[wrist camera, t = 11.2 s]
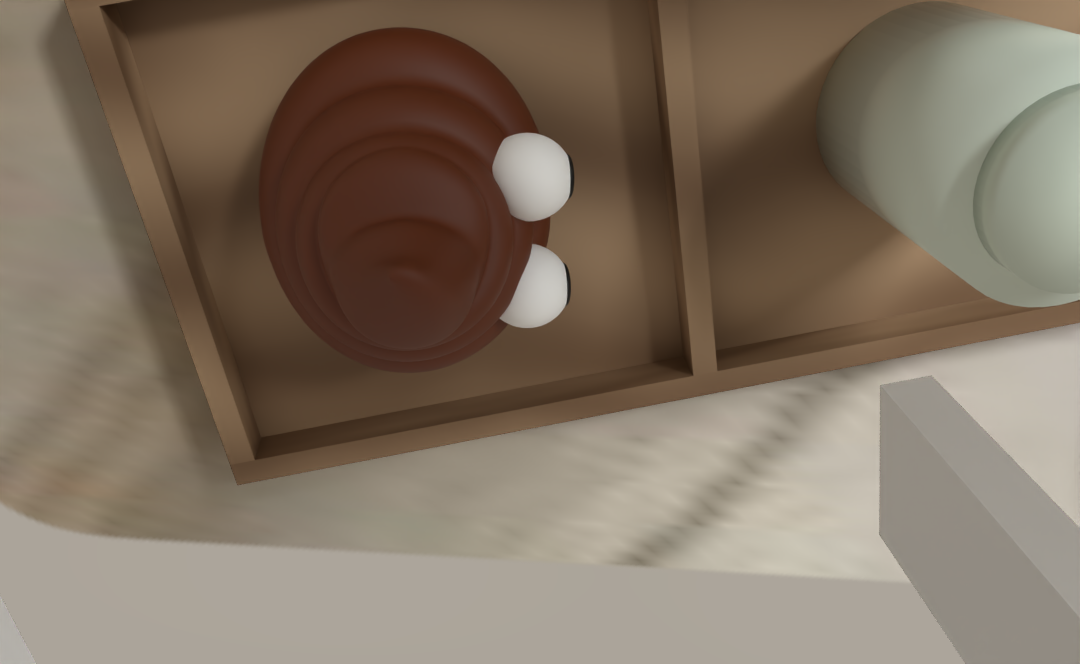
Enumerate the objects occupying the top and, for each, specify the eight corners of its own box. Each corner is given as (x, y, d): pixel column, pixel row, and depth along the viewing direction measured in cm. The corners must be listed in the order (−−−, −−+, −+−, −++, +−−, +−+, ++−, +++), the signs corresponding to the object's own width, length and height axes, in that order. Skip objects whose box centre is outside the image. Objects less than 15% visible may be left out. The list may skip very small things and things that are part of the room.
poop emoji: (251, 21, 27) (175, 90, 19) (557, 20, 28) (616, 86, 19) (286, 344, 31) (238, 518, 23) (550, 335, 32) (596, 500, 24)
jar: (812, 21, 29) (967, 81, 21) (1022, -17, 29) (1256, 28, 21) (818, 223, 31) (956, 346, 23) (1009, 187, 32) (1210, 297, 24)
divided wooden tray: (81, -29, 26) (56, -21, 25) (1187, -222, 27) (1240, -228, 26) (246, 452, 33) (237, 484, 32) (1123, 283, 34) (1162, 306, 33)
